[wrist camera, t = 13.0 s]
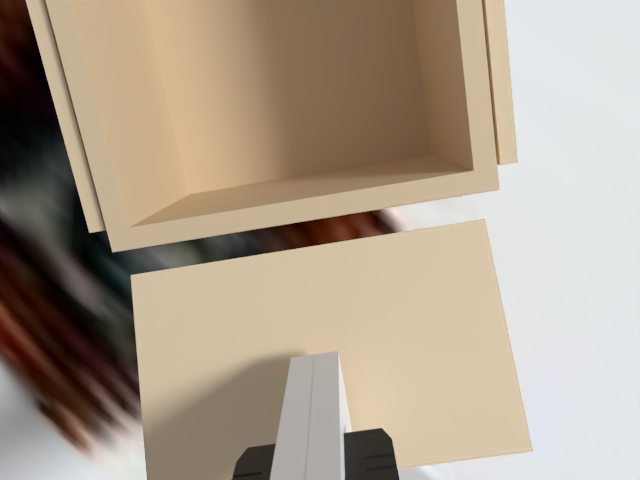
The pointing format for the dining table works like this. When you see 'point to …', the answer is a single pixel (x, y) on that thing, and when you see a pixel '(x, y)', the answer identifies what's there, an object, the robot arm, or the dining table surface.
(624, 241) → the dining table surface
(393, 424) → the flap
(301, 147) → the carton
